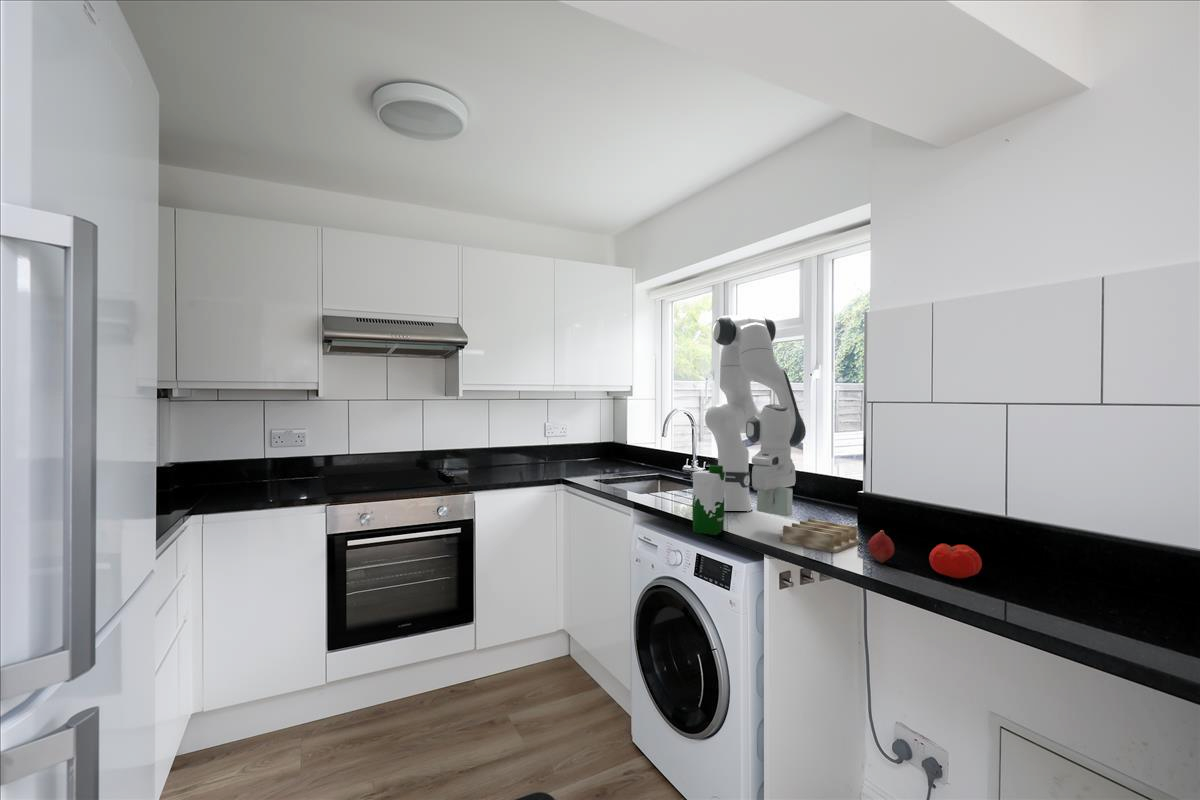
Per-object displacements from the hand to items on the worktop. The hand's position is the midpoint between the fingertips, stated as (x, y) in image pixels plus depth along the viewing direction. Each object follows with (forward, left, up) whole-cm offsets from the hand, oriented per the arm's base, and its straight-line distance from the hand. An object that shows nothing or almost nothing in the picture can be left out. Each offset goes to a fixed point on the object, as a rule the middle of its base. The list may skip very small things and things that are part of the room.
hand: (774, 502), depth 165 cm
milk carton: (-13, -16, -9) cm, 22 cm away
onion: (+34, -10, -9) cm, 37 cm away
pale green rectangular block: (0, 0, -3) cm, 3 cm away
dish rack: (+15, -2, -9) cm, 18 cm away
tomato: (+49, -7, -9) cm, 51 cm away
